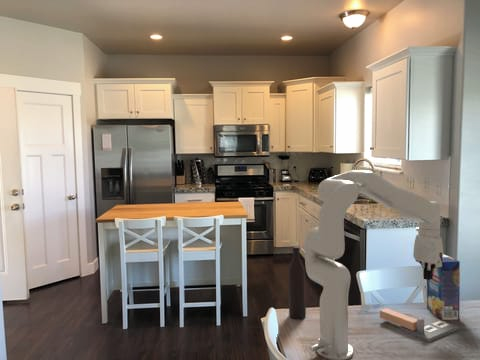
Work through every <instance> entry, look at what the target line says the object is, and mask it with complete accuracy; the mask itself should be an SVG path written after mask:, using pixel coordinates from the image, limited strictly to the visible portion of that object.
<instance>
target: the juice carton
mask: <svg viewBox="0 0 480 360" xmlns="http://www.w3.org/2000/svg"><path fill="white" fill-rule="evenodd" d="M460 262H461V261H460V260H458V259H455V258H453V257H451V256H449V255H446V254H444V253H443V262H442V267H436V268H435V269H433V278H432V279H431V280H426V309H427V310H429V311H430V312H431V313H432V314H434V315H435V317H436V318H437V319H439V320H442V321H444V320H447V321H448V320H450V321H451V320H460V295H461V294H460V289H461V287H460V279H461V278H460V274H461V273H460V270H461V269H460V264H461V263H460ZM436 264H437V263H436Z"/></svg>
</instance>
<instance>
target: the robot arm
mask: <svg viewBox="0 0 480 360" xmlns="http://www.w3.org/2000/svg"><path fill="white" fill-rule="evenodd" d="M316 191H317V195H318V198H319V199H320V200H322V202H323V203H322V205H321V206H320V207H321V208H319V211H318V218H317V222H318V224H317V226H315V227H312V228H310V229H309V230H308V232H307V233H306V235H305V237H304V243H303V244H304V248H303V249H304V261H305V262H304V263H305V265H304V266H305V273H306V274H307V276H308V278H309V279H310V280H311V281H313V282H314V283H317V284H319V285H320V286H321V287H322V288H323V289H322V292H321V294H320V295H319V296H320V297H319V333H320V336H319V338H317V342H316V344H312V345H310V346H309V350H310V352H312V353H313V352H316V353H317V354H318V355H320V356H321V357H322V358H324V359H328V360H348V359H350V358H351V357H352V356H353V355H354V348H353V346H352V345H351V344H349V291H350V286H351V279H352V278H351V274H350V273H351V272H350V271H349V269H348V267H346V266H345V265H344V264H343V263H340V262H338V261H335V260H338V259H340V258H341V257H343V255H344V253H345V246H346V244H345V230H344V229H345V227H344V226H345V224H344V222H345V221H344V220H345V216H346V215H345V214H346V213H347V211H348V210H349V208H350V207H351V206H352V205H353V204H354V203H355V202H356V201H357V199H358V198H359V194H362V195H363V196H366V197H368V198H370V199H371V200H373V201H374V202H377V203H378V204H380V205H381V206H384V207H385V208H388V209H392V210H396V211H397V212H398V215H399V216H400V217H401V218H402V219H404V220H405V221H411V222H416V223H417V222H418V227H416V229H415V231H416V232H418V233H417V234H416V235H415V239H414V244H413V253H412V254H413V259H414V260H415V262H417V263H419V264H420V265H421V268H422V271H423V274H422V275H423V280H426V281H427V280H431V279H432V278H433V269H435V268H436V267H442V262H443V254H444V247H443V240H442V237H441V236H440V235H441V204H440V202H439V201H434V200H429V199H427V198H425V197H423V196H421V195H419V194H417V193H414V192H412V191H410V190H407V189H404V188H401V187H399V186H397V185H395V184H393V183H392V182H390V181H388V180H387V179H386V178H384V177H382V176H381V175H379V174H378V173H376V172H374V171H372V170H366V169H359V170H358V169H353V170H348V171H345V172H342V173H340V174H337V175H334V176H331V177H328V178H325V179H323V180H322V181H321V182H320V183H319V184H318V187H317V190H316ZM436 263H437V264H436Z"/></svg>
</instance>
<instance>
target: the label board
mask: <svg viewBox="0 0 480 360" xmlns="http://www.w3.org/2000/svg"><path fill="white" fill-rule="evenodd" d="M416 319H417V329H416V330H414V331H413V330H410V329H408V328H405V327H403V326H400V325H399V329H400V330H401V331H403V332H405V333H407V334H410V335H412V336H414V337H416V338H418V339H421V340H423V341H425V342H428V343H430V342H432V341H434V340H436V339H437V340H438V339H439V338H442V337H444V336H446V335H449V334H451V333H453V332H455V331H458V330H459V326H458V325H455V324H452V323H449V322H447V321H444V320H441V319H440V318H438V317H434V316H432V315H427V316H425V317H417V318H416Z"/></svg>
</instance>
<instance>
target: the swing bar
mask: <svg viewBox="0 0 480 360" xmlns="http://www.w3.org/2000/svg"><path fill="white" fill-rule="evenodd" d="M379 318H380V319H383V320H386V321H387V322H391V323H393V324H396V325H398V326H399V327H400V326H403V327H405V328H408V329H410V330H413V331H414V330H416V329H417V318H415V317H412V316H409V315H406V314H403V313H401V312H398V311H395V310H393V309H390V308H387V307H385V308H383V309H380V310H379Z"/></svg>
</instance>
